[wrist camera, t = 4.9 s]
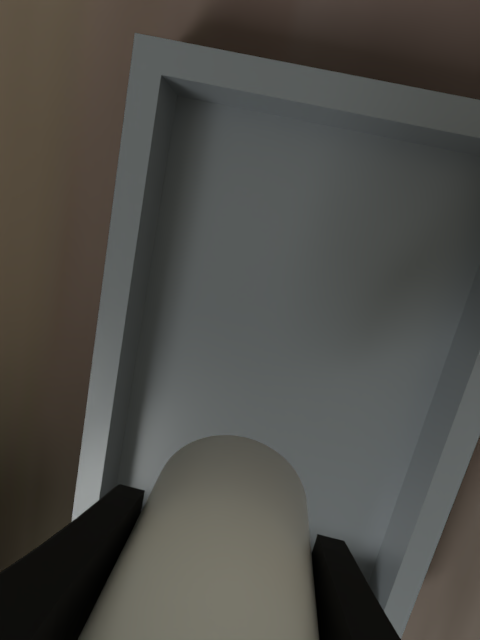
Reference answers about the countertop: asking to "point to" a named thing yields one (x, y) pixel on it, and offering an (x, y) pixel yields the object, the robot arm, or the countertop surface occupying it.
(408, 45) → the countertop surface
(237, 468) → the cell
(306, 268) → the tray
